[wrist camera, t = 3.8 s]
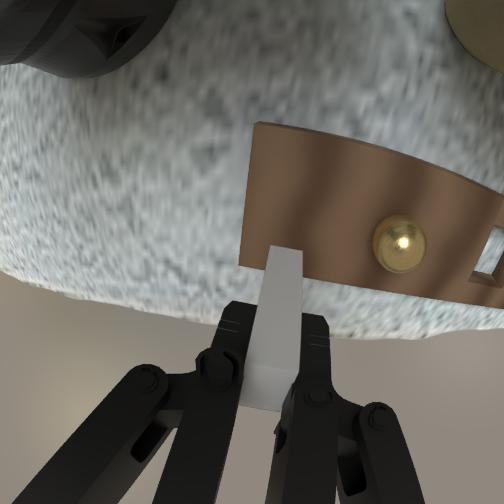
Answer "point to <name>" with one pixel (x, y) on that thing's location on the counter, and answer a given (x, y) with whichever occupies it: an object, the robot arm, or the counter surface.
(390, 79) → the counter surface
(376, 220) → the board
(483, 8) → the plant pot
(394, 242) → the brass ball
